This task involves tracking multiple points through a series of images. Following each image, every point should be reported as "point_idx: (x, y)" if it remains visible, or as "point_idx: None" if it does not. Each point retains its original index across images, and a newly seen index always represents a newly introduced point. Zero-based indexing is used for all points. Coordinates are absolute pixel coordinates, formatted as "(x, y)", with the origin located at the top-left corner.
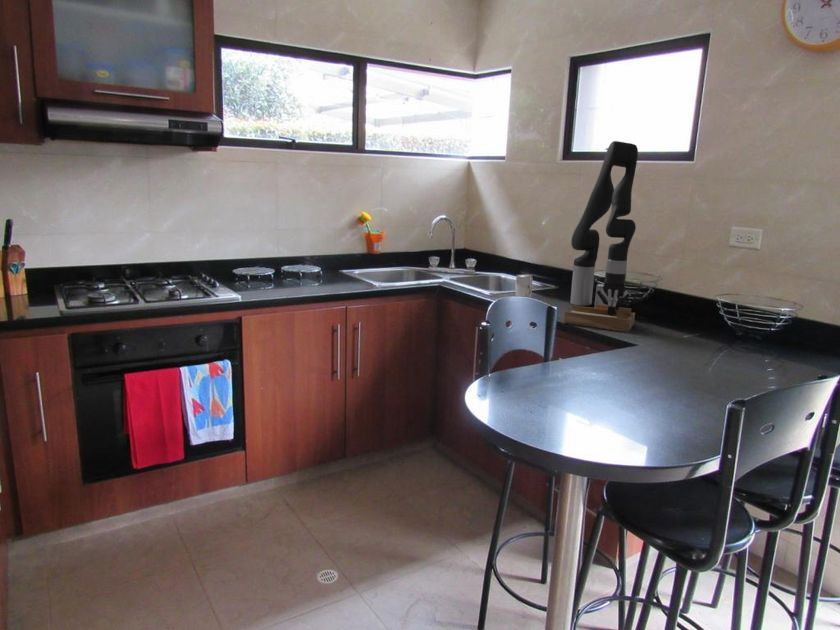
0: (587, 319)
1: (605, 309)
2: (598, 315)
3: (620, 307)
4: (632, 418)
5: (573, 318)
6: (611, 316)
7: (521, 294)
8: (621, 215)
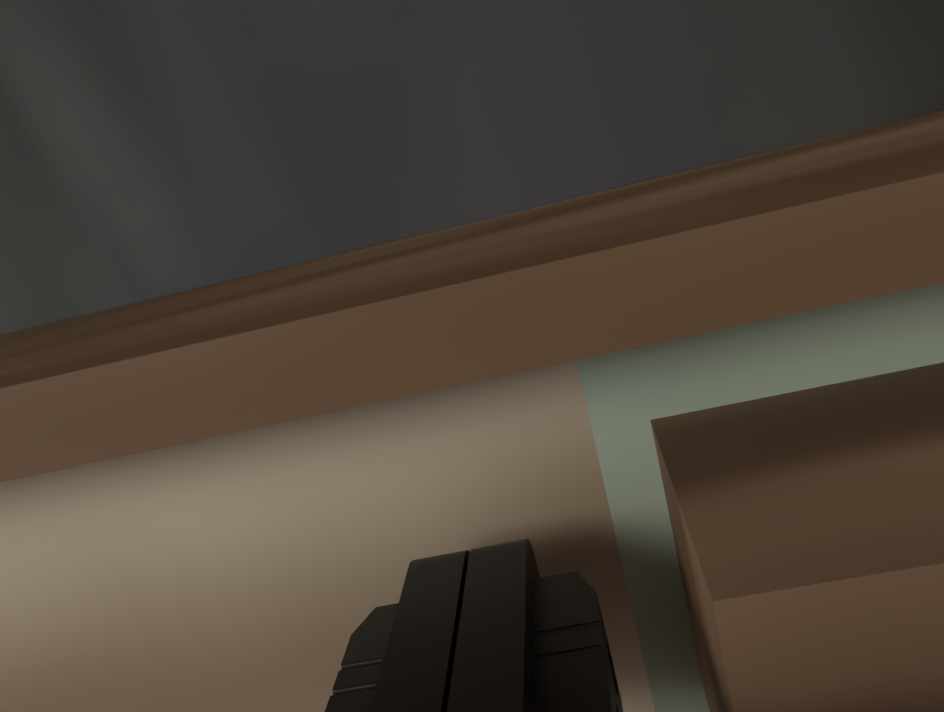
0: None
1: (108, 397)
2: (144, 615)
3: (777, 613)
4: None
5: None
6: (455, 472)
7: None
8: None
